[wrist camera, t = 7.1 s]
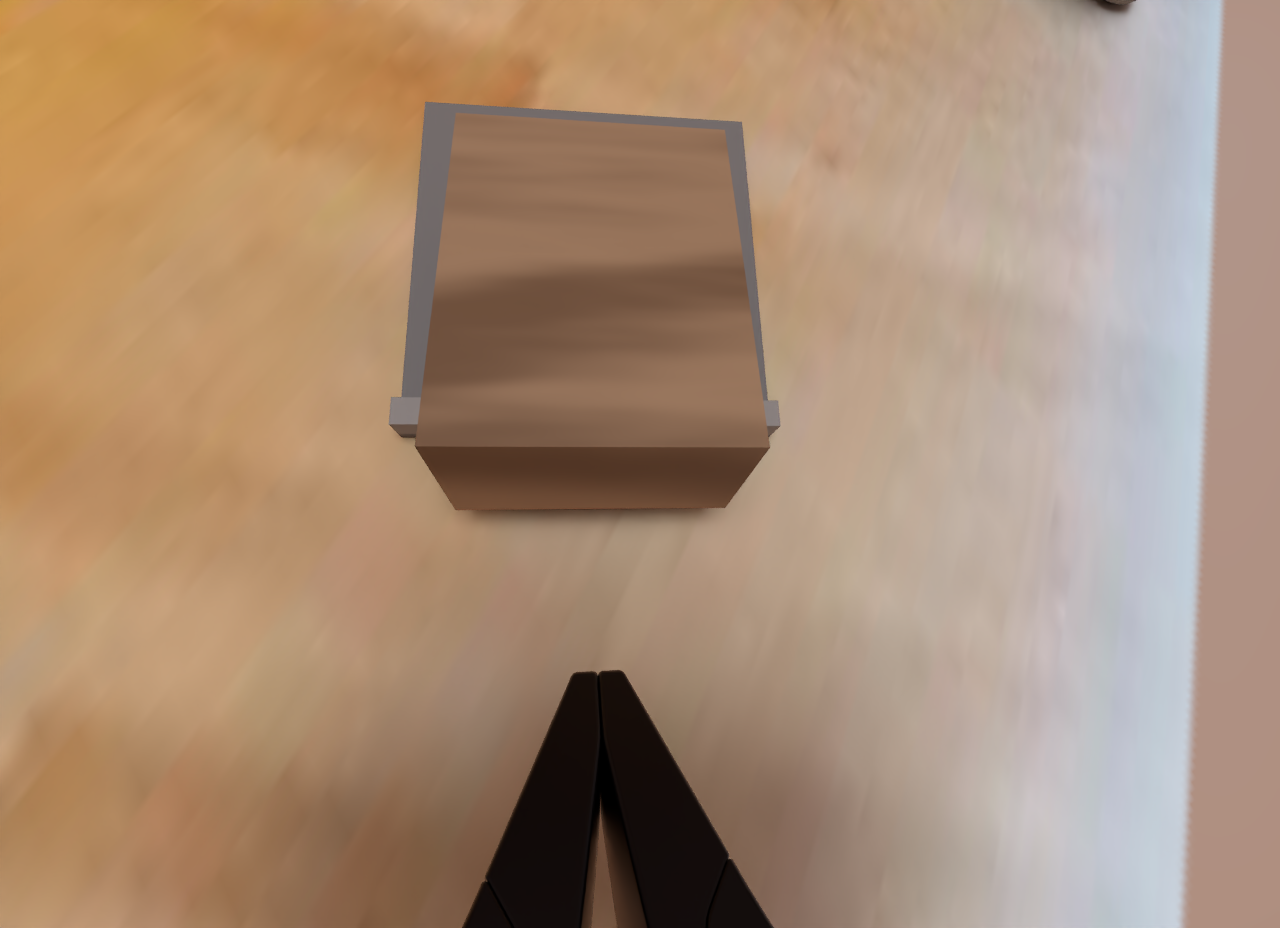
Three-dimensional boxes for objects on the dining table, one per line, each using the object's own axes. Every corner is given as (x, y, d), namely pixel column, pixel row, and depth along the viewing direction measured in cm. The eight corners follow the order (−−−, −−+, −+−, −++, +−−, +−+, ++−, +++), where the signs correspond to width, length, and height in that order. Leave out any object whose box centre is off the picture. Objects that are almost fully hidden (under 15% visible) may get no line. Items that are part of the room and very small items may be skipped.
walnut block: (769, 447, 15) (724, 129, 20) (414, 446, 14) (455, 112, 19) (724, 507, 19) (697, 239, 24) (455, 510, 19) (480, 229, 23)
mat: (767, 437, 23) (780, 425, 21) (401, 437, 21) (389, 424, 20) (739, 129, 26) (748, 101, 25) (427, 109, 25) (418, 78, 23)
